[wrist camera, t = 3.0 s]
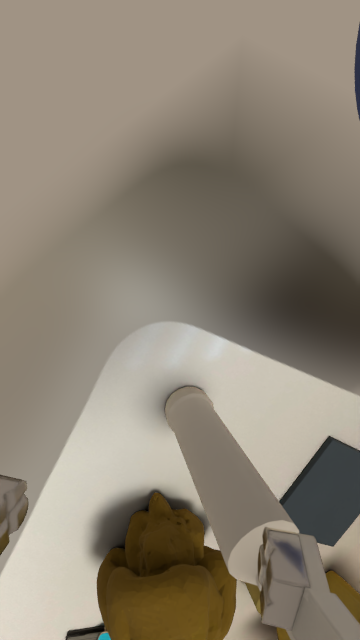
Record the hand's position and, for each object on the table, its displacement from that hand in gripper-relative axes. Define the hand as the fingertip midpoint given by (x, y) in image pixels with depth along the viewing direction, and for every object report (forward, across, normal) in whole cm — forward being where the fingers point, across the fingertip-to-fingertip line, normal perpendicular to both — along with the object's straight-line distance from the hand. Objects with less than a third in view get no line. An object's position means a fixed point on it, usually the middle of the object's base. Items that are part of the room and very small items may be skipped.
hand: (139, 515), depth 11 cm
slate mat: (+33, -22, +28) cm, 49 cm away
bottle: (+23, 0, +10) cm, 25 cm away
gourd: (+22, +3, +29) cm, 37 cm away
